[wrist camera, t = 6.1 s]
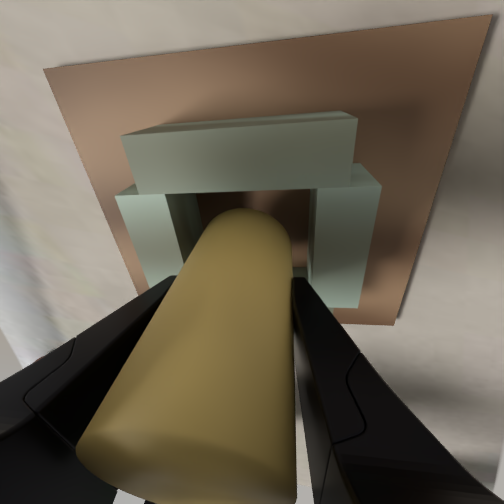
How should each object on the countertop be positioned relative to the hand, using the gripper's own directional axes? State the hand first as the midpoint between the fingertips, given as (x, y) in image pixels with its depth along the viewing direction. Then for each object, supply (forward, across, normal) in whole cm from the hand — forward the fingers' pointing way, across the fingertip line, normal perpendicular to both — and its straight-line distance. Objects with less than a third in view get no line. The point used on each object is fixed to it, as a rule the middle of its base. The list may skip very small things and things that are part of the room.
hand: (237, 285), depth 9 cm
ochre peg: (+2, 0, 0) cm, 2 cm away
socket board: (+5, 0, 0) cm, 5 cm away
